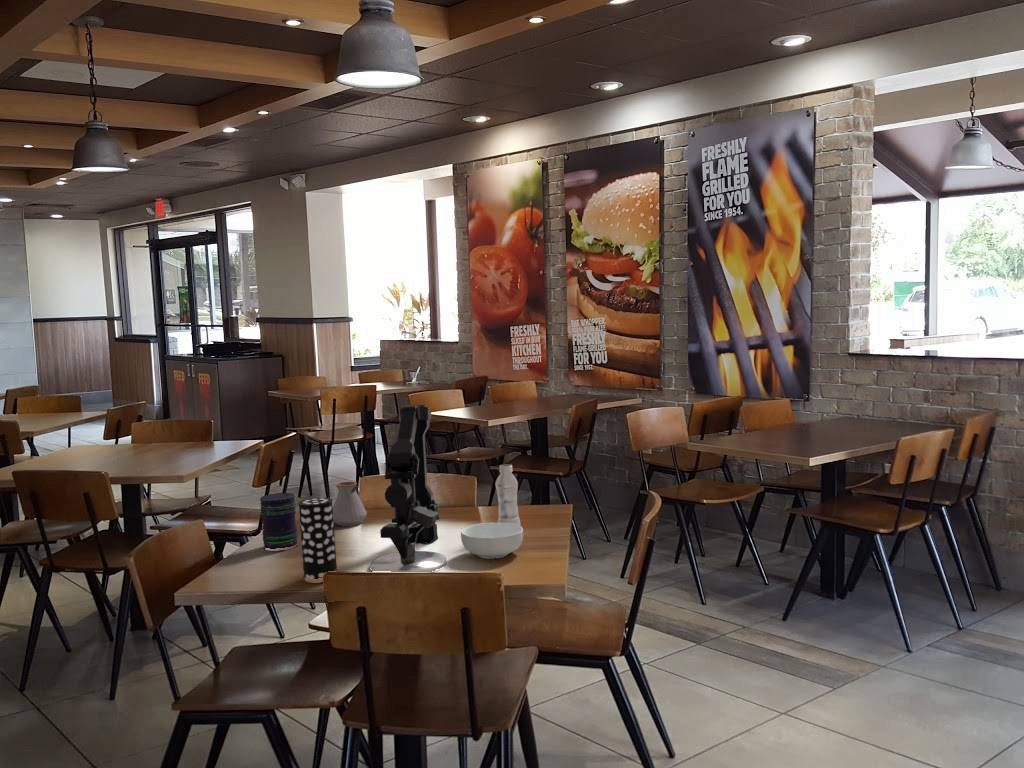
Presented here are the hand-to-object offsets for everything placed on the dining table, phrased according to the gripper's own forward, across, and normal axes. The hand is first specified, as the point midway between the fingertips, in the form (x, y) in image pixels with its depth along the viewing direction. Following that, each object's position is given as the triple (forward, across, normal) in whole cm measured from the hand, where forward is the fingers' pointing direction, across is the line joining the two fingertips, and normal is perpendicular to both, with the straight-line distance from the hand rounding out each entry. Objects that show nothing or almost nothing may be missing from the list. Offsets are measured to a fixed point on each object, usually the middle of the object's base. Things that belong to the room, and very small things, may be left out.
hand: (408, 556), depth 240 cm
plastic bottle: (+3, +36, -16) cm, 39 cm away
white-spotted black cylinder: (+3, -14, +18) cm, 23 cm away
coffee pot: (+3, +37, +36) cm, 52 cm away
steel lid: (+3, 0, 0) cm, 3 cm away
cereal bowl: (+3, +13, -19) cm, 23 cm away
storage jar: (+3, +12, +46) cm, 48 cm away
